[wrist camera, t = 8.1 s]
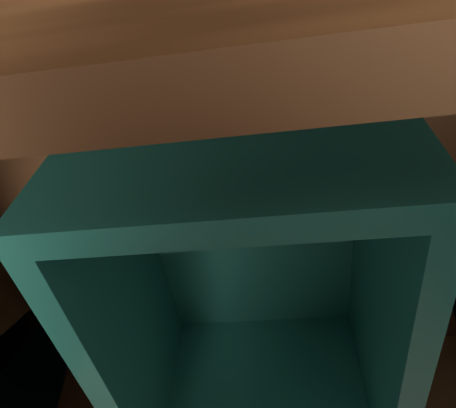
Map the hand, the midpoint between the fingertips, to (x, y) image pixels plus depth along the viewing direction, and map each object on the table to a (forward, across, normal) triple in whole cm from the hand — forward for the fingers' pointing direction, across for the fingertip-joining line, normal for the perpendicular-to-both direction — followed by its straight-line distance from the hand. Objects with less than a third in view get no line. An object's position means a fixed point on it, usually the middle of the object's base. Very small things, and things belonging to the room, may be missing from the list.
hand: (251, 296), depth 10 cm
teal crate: (+3, 0, 0) cm, 3 cm away
